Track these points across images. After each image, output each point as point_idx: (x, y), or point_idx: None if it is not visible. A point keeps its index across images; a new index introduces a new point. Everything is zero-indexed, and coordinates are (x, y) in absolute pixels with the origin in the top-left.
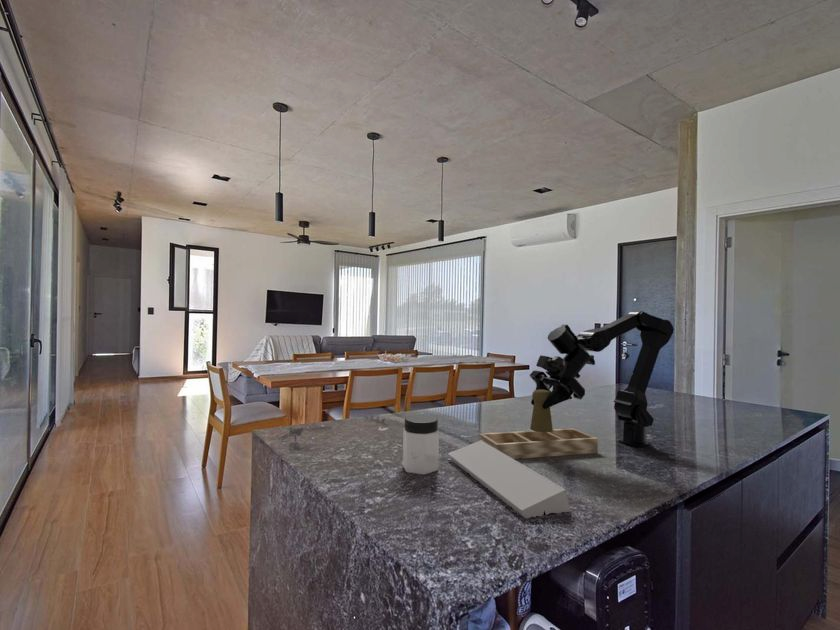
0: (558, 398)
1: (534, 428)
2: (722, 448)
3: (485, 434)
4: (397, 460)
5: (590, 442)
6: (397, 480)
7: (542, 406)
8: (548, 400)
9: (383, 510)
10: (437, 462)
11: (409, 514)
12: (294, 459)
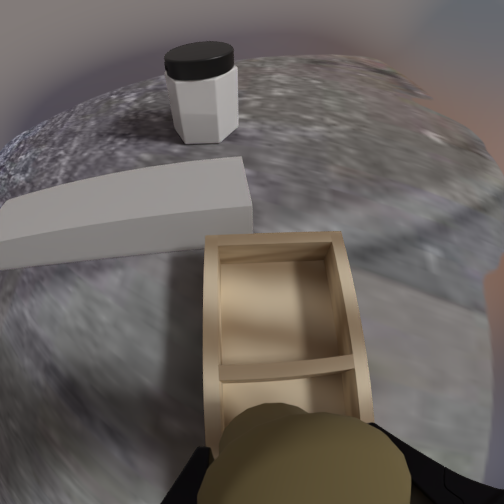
0: None
1: (254, 408)
2: None
3: (332, 247)
4: (253, 111)
5: None
6: (170, 108)
7: (201, 447)
8: (167, 496)
9: (105, 104)
10: (182, 131)
11: (85, 119)
12: (274, 58)
